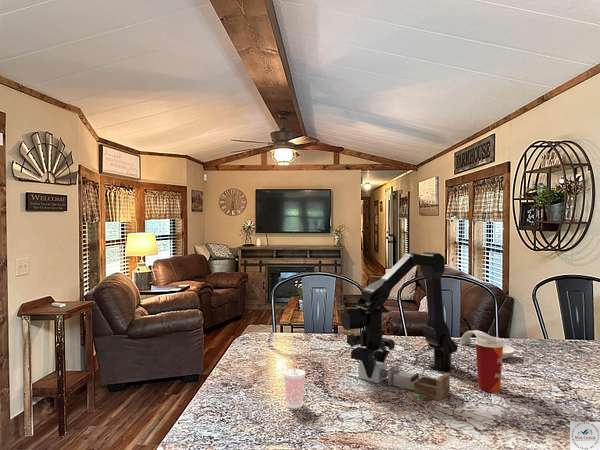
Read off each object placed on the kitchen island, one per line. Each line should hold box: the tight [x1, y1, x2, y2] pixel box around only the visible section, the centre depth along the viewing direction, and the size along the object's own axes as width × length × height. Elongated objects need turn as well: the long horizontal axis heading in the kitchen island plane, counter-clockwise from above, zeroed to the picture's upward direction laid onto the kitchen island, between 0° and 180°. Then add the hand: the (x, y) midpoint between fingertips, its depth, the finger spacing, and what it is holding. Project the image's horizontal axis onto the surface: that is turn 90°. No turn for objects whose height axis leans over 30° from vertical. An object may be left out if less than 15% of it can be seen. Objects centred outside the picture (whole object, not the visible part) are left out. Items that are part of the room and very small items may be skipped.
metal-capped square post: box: [387, 364, 425, 391], centre depth 136 cm, size 7×10×5 cm
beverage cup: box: [283, 353, 306, 409], centre depth 123 cm, size 6×6×14 cm
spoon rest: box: [460, 329, 516, 360], centre depth 171 cm, size 24×12×7 cm, turn 20°
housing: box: [407, 372, 451, 402], centre depth 131 cm, size 10×9×6 cm
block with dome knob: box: [358, 360, 388, 384], centre depth 143 cm, size 5×8×6 cm, turn 52°
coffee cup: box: [474, 335, 505, 393], centre depth 135 cm, size 8×8×15 cm
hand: (373, 375), depth 143 cm, fingers closed on block with dome knob, 5 cm apart
